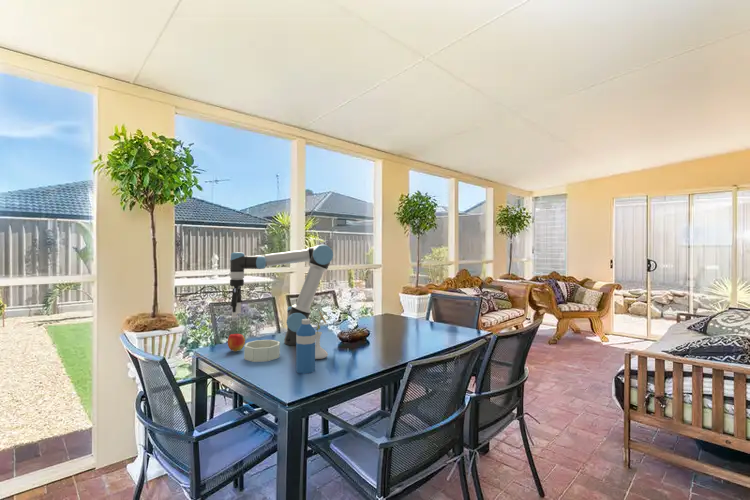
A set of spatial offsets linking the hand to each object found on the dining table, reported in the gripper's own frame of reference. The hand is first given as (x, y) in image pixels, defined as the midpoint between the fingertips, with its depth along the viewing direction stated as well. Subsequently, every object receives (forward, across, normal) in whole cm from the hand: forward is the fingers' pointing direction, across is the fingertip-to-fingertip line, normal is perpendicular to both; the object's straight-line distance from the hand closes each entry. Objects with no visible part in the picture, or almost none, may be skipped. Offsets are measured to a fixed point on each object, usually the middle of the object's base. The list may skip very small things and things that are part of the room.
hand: (236, 315), depth 218 cm
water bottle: (+20, +41, +39) cm, 60 cm away
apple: (+20, 0, 0) cm, 21 cm away
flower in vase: (+20, +20, +46) cm, 54 cm away
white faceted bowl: (+20, +14, +16) cm, 29 cm away
